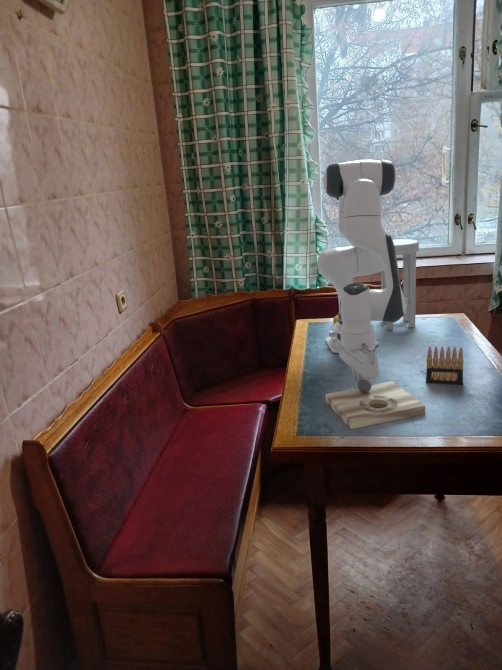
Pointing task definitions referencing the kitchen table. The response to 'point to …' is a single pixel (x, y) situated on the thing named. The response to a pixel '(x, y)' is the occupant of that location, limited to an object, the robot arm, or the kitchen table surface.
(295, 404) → the kitchen table surface
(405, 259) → the stool
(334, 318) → the bagel
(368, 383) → the ball
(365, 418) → the board
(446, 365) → the ammunition clip
